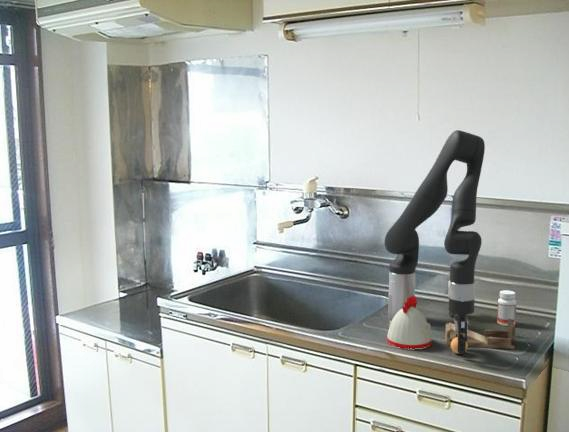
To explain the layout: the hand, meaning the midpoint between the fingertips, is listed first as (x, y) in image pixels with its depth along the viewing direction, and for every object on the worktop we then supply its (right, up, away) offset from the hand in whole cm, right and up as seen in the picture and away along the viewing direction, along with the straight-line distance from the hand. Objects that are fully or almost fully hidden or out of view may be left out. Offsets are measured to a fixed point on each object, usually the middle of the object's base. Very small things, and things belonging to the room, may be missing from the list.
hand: (460, 348), depth 191 cm
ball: (0, +1, 0) cm, 1 cm away
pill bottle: (+24, +2, +28) cm, 37 cm away
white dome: (-14, -1, +11) cm, 17 cm away
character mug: (+9, +4, +37) cm, 39 cm away
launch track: (+9, -2, +10) cm, 13 cm away
